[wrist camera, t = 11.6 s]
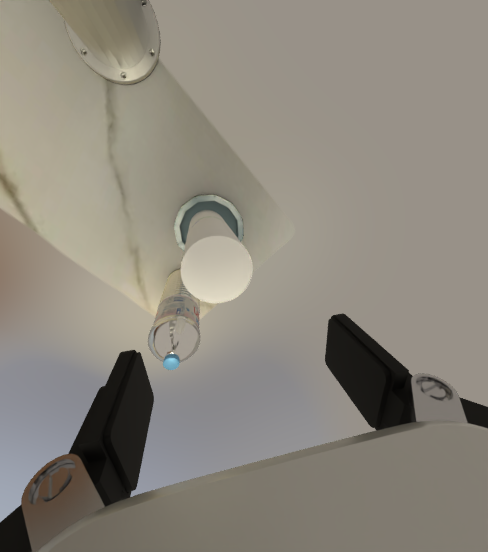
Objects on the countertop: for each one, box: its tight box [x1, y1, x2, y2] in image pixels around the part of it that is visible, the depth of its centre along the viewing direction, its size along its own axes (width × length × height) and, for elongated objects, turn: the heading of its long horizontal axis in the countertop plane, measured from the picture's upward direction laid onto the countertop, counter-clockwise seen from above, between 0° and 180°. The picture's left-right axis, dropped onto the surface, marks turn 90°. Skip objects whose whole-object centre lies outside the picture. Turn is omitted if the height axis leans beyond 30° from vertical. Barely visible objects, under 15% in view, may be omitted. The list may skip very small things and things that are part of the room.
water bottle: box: [148, 269, 200, 370], centre depth 38 cm, size 7×7×25 cm
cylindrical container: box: [181, 210, 253, 303], centre depth 34 cm, size 7×7×25 cm
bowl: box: [174, 194, 244, 251], centre depth 45 cm, size 13×13×3 cm
